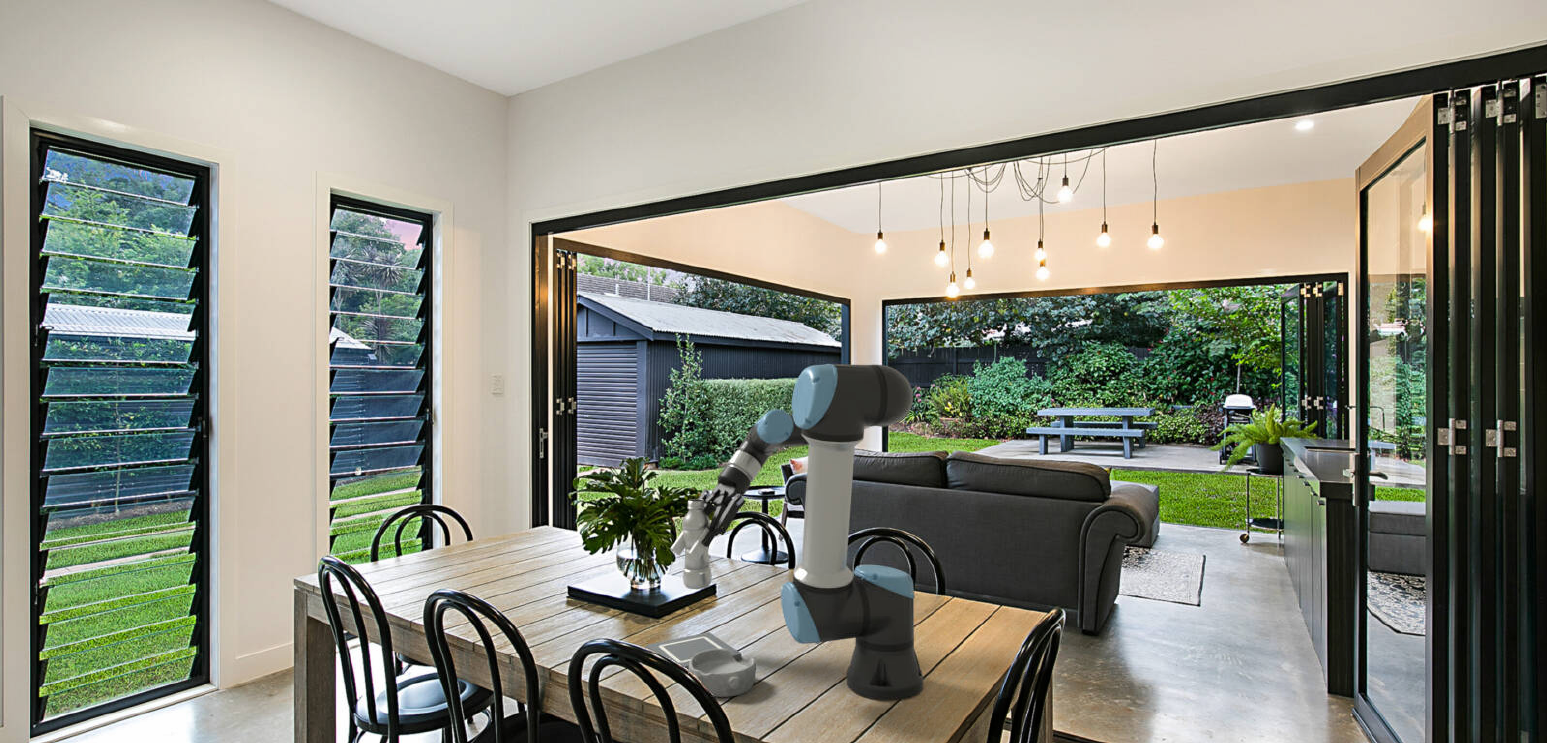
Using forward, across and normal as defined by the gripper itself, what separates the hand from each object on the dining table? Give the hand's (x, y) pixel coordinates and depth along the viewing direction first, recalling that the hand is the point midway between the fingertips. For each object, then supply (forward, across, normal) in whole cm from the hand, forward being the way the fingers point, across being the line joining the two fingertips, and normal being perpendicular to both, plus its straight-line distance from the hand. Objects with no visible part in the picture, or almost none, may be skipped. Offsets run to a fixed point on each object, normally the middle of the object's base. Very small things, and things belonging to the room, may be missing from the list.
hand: (684, 554), depth 165 cm
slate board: (+15, -2, -16) cm, 22 cm away
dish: (+19, -18, -13) cm, 30 cm away
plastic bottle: (+4, 0, -9) cm, 9 cm away
